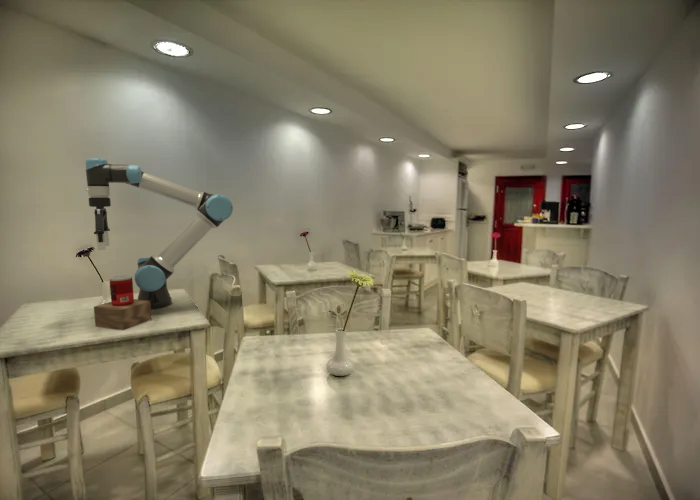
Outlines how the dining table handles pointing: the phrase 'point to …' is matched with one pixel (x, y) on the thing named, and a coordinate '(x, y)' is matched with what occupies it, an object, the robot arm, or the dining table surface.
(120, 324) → the walnut block
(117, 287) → the canned food
